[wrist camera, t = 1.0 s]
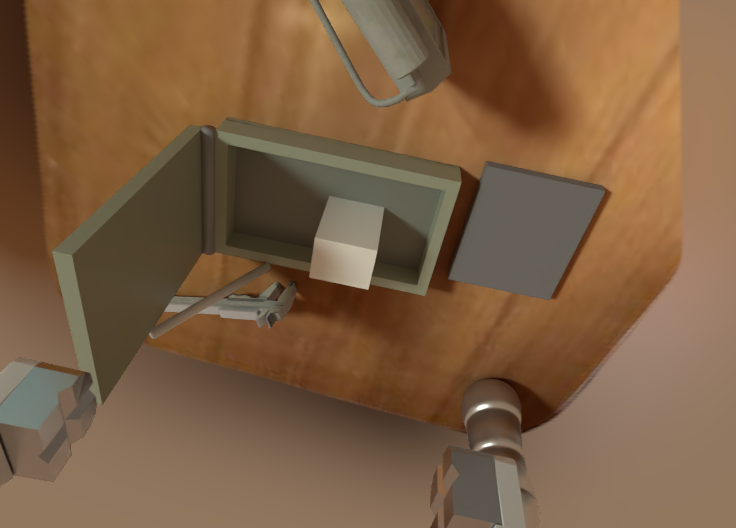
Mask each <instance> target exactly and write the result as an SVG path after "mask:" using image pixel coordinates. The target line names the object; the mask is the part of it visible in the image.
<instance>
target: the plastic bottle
mask: <svg viewBox="0 0 736 528" xmlns="http://www.w3.org/2000/svg"><path fill="white" fill-rule="evenodd" d="M461 411H462V416H463V421H464V424H465V427H466V430H467V435H468V441H469V447H470V450H474V451H480V452H485V453H490V454H491V455H497V456H502V457H507V458H512V459H514V461H515V463H516V465H517V471H518V477H519V483H520V490H521V496H522V502H523V508H524V514H525V520H526V526H527V528H538V527H539V520H540V511H539V507H538V503H537V500H536V497H535V494H534V491H533V488H532V485H531V482H530V479H529V476H528V472H527V467H526V463H525V460H524V454H523V450H522V437H521V403H520V400H519V398H518V396H517V393H516V391H515V390H514V389H513V388H512V387H511V386H510V385H508V384H507V383H505V382H504V381H501V380H498V379H483V380H480V381H477V382H475V383H473V384H472V385H471V386H470V387H469V388H468V389H467V390H466V392H465V393H464V395H463V400H462V407H461Z"/></svg>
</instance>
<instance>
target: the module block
mask: <svg viewBox="0 0 736 528" xmlns="http://www.w3.org/2000/svg"><path fill="white" fill-rule="evenodd" d="M383 213H384V207H380V206H376V205H371V204H366V203H361V202H357V201H352V200H347V199H343V198H338V197H333V196H329V199H328V202H327V204H326V207H325V210H324V213H323V216H322V219H321V221H320V224H319V227H318V230H317V233H316V236H315V240H314V247H313V254H312V261H311V268H310V275H309V278H314V279H319V280H324V281H328V282H333V283H338V284H343V285H348V286H352V287H357V288H362V289H367V290H368V289H369V285H370V281H371V276H372V272H373V268H374V264H375V259H376V255H377V251H378V245H379V238H380V232H381V226H382V219H383Z"/></svg>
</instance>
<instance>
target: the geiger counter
mask: <svg viewBox="0 0 736 528" xmlns="http://www.w3.org/2000/svg"><path fill="white" fill-rule="evenodd" d="M341 1H342V2H343V4H344V5H345V7H346V9H347V10H348V12H349V13H350V15H351V16H352V18H353V19H354V21H355V23H356V24H357V26H358V27H359V29H360V30H361V32H362V33H363V35H364V37H365V38H366V40H367V41H368V43H369V44H370V46H371V47H372V49H373V51H374V52H375V54H376V55H377V57H378V58H379V60H380V61H381V63H382V65H383V66H384V68H385V69H386V71H387V72H388V74H389V75H390V77H391V78H392V80H393V81H394V82H395V84H396V85H397V87H398V89H399V90H400V92H401V93H400V94H398V95H397V96H394V97H392V98H389V99H384V100H378V99H375V98H374V97H373V96H371V95H370V93H369V92H368V91H367V89H366V88H365V86H364V85H363V83H362V81H361V80H360V78H359V76H358V74H357V72H356V70H355V68H354V67H353V65H352V63H351V61H350V59H349V57H348V55H347V54H346V52H345V50H344V48H343V46H342V44H341V42H340V40H339V38H338V37H337V35H336V33H335V31H334V29H333V27H332V25H331V23H330V22H329V20H328V18H327V16H326V14H325V12H324V10H323V8H322V6H321V5H320V3H319V1H318V0H310V2H311V4H312V6H313V7H314V9H315V11H316V13H317V15H318V17H319V19H320V20H321V22H322V24H323V26H324V28H325V30H326V32H327V33H328V35H329V37H330V39H331V41H332V43H333V45H334V46H335V48H336V50H337V52H338V54H339V56H340V58H341V59H342V61H343V63H344V65H345V67H346V69H347V70H348V72H349V74H350V76H351V78H352V79H353V81H354V83H355V85H356V86H357V88H358V90H359V91H360V93H361V94H362V96H363V97H364V98H365V99H366V101H368V102H369V103H370V104H371V105H373V106H376V107H389V106H392V105H395V104H397V103H400V102H401V101H403V100H404V99H406V101H409V100H412V99H414V98H417V97H419V96H422V95H424V94H427V93H429V92H432V91H433V90H434V89H435V88H436V87H437V86H438V85H439V84H440V83H441V82H442V81H443V80H444V79H445V78H446V77H448V76H449V75H450V74H451V73H452V72H451V65H450V58H449V51H448V43H447V36H446V32H445V30H444V28H443V26H442V25H441V23H440V21H439V19H438V18H437V16H436V14H435V12H434V10H433V9H432V7H431V5H430V3H429V2H428V0H341Z"/></svg>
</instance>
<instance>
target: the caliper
mask: <svg viewBox="0 0 736 528" xmlns="http://www.w3.org/2000/svg"><path fill="white" fill-rule="evenodd" d="M281 290H282V289H281V286H280V283H279V282H278V283H274V284H272V285H271V286H270V287H269V288H267V289H266V290H265V291H264V292H263V293H261V294H260V295H259V296H258V297H257V298H256V297H251V296H248V295H245V294H241V295H237V294H230V295H229V296H228V298H222V299H221V300H219V301H217V302H216V303H214V304H212V305H211V306H209V307H207V308H206V309H204V310H202V311H201V312H199V313H202V314H219V315H220V316H221V318H235V319H249V320H256V322H257V325H258V327H259V328H260V327H261V326H263V325H264V324H266V323H268V326H269V328H271V327H272V326H273V324H274V323H275V321H282V319H283V318H284V317H285V315H286V314H287V313H288V311H289V310H290V308H291V307H292V304H293V301H294V298H295V296H296V292H297V289H296V286H295V283H294V282H292V281H291V282H290V283H289V285H288V286H287V288H286V289H285V290H284V291H283V293H282V294H281V295H280V297H279V298H278V299H277V300H276V301H274V300H275V299H276V298H277V296H278V295H279V293H280V291H281ZM203 298H205V297H183V296H174V297H173V298H172V300H171V302H170V303H169V305H168V306H167V308H166V309H165V311H167V312H181V311H183V310H184V309H186V308H188V307H190V306H191V305H193V304H195V303H197V302H198V301H200V300H202V299H203Z"/></svg>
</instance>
